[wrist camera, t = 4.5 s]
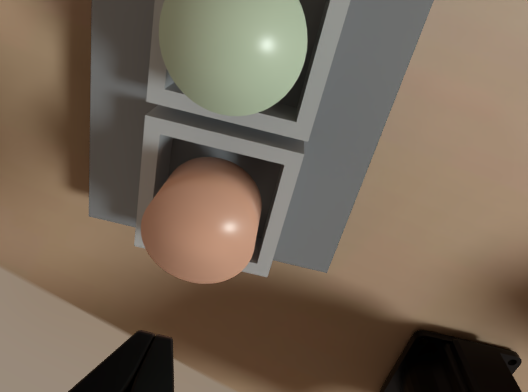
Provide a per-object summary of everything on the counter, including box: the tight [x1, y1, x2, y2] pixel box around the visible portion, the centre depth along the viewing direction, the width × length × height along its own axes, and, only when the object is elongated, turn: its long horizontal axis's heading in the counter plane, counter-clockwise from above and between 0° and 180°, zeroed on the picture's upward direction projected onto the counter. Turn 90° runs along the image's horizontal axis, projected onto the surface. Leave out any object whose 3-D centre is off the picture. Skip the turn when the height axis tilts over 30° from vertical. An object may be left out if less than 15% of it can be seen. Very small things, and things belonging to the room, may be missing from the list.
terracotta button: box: [141, 157, 262, 284], centre depth 14 cm, size 4×4×3 cm
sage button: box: [159, 0, 307, 116], centre depth 11 cm, size 4×4×3 cm
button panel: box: [89, 0, 434, 277], centre depth 14 cm, size 20×12×4 cm, turn 167°
